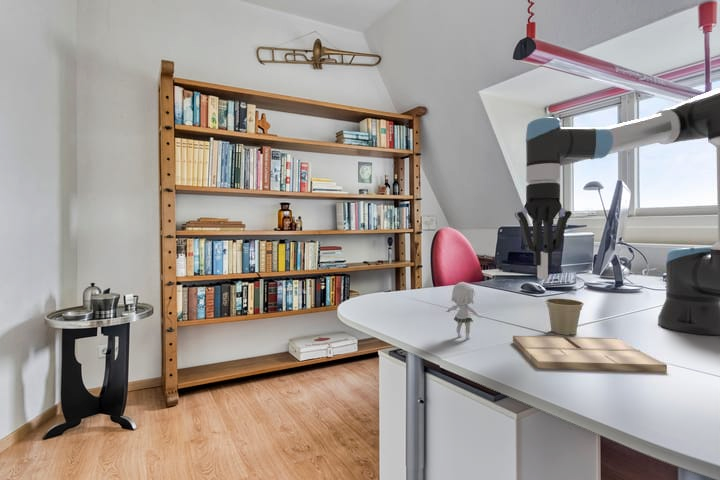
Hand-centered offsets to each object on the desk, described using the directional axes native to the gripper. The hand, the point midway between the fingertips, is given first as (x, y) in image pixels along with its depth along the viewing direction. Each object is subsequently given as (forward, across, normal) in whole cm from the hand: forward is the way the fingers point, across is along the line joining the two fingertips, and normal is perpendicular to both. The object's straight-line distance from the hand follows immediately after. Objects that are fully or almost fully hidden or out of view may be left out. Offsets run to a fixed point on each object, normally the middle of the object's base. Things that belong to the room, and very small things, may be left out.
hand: (542, 278), depth 93 cm
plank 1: (+16, +1, +3) cm, 17 cm away
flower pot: (+17, -10, -12) cm, 23 cm away
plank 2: (+17, -12, +3) cm, 21 cm away
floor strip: (+17, -6, +12) cm, 21 cm away
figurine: (+17, +19, -4) cm, 25 cm away
